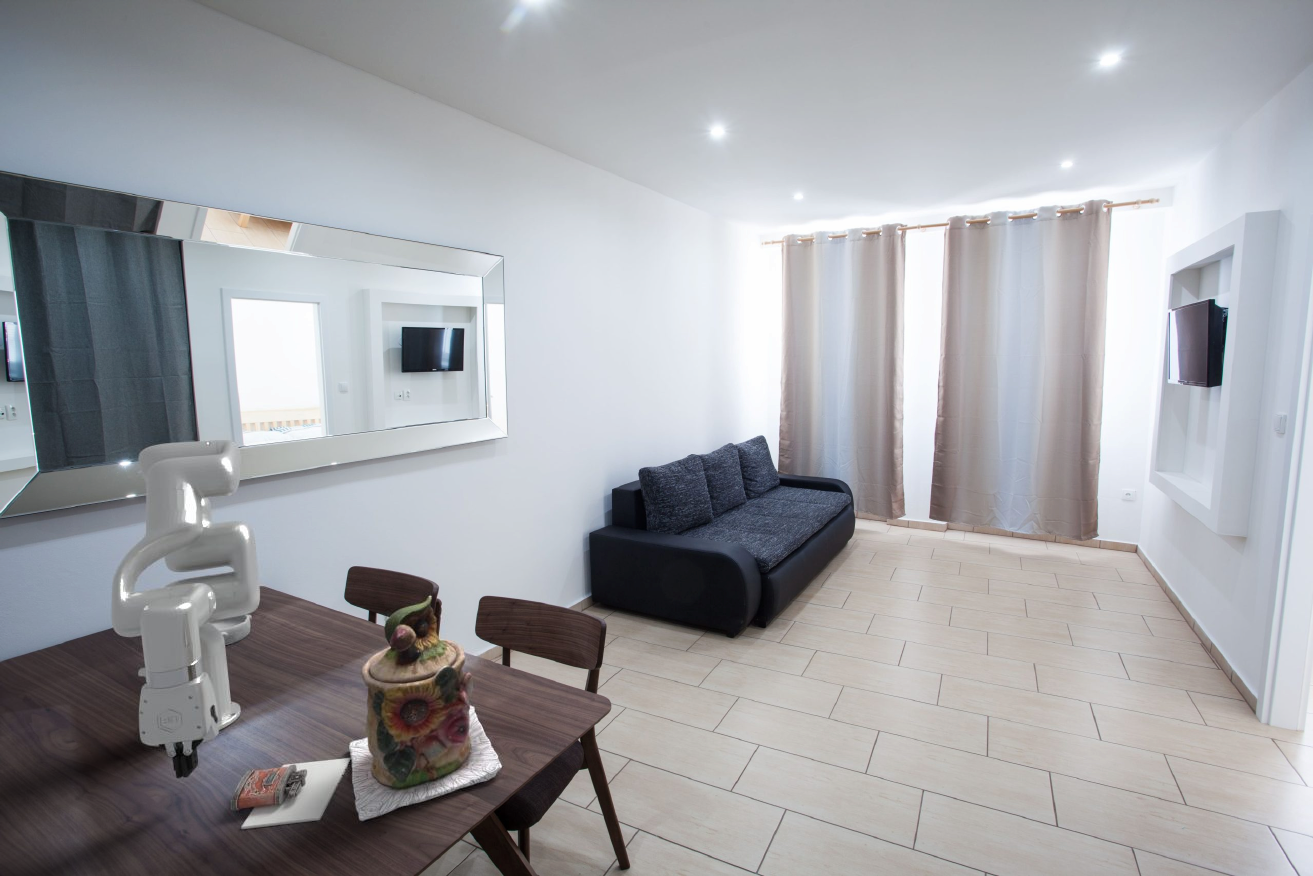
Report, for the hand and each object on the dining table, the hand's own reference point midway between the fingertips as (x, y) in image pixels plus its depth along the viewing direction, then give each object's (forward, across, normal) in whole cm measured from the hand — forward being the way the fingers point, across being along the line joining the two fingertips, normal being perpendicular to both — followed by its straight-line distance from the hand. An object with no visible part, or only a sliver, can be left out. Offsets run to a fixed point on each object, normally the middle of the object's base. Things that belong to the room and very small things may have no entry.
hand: (186, 772), depth 108 cm
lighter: (+4, +8, -1) cm, 9 cm away
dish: (+6, -29, +72) cm, 78 cm away
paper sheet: (+6, +18, 0) cm, 19 cm away
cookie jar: (+6, +38, +4) cm, 39 cm away
